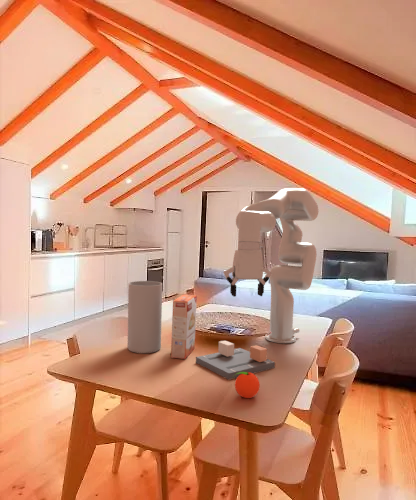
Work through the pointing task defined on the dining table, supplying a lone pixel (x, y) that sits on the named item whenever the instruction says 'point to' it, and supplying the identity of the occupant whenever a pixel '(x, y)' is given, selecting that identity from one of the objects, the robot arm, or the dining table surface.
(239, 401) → the dining table surface
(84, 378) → the dining table surface
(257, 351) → the terracotta fader
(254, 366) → the fader panel
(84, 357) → the dining table surface
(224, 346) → the ivory fader
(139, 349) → the cylinder vase
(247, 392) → the clementine
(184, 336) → the cracker box
